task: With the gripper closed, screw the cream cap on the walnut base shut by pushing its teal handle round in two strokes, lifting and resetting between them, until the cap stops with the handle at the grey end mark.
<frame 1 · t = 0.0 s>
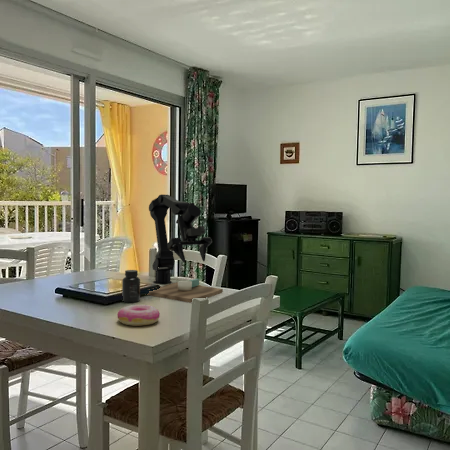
hand: (194, 261, 187), 15 cm above the table, tool tilted 35°, fingers open, 9 cm apart
walnut base: (184, 293, 194), on the table
cream cap: (189, 284, 197), point 3 cm above the table, hinge at 0.0°
supplement bottle: (130, 301, 178), on the table
donut: (138, 323, 150), on the table
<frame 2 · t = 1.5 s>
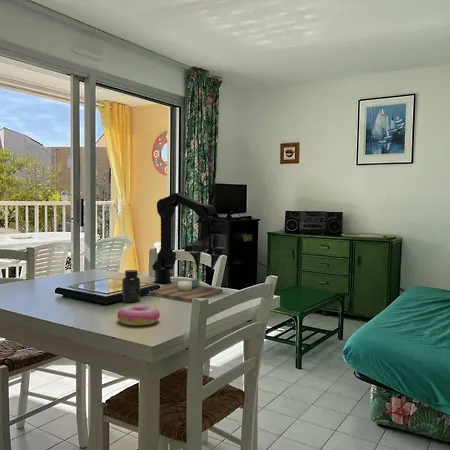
hand: (204, 269, 198), 10 cm above the table, tool pointing down, fingers open, 7 cm apart
nothing on the table moved.
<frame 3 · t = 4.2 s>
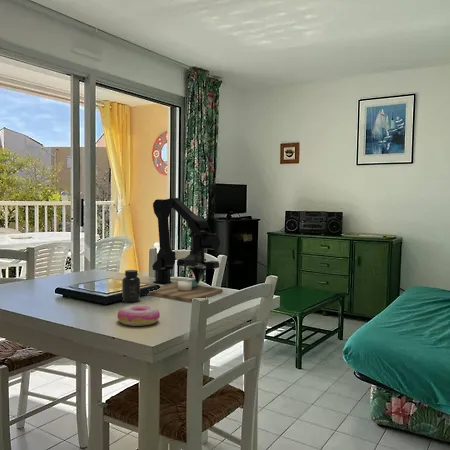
hand: (197, 282, 200), 4 cm above the table, tool pointing down, fingers closed
cream cap: (189, 284, 197), point 3 cm above the table, hinge at 2.2°, touching gripper
everything else where it was.
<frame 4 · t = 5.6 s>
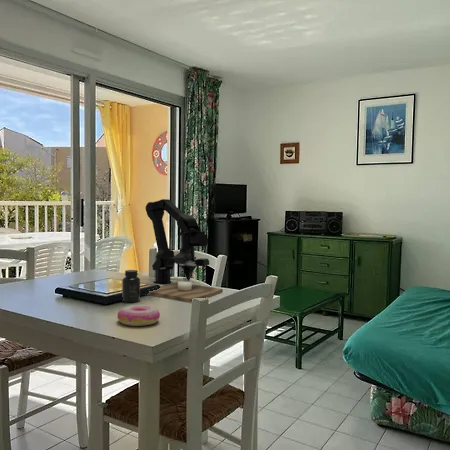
hand: (188, 280, 202), 4 cm above the table, tool pointing down, fingers closed
cream cap: (184, 283, 197), point 3 cm above the table, hinge at 35.2°, touching gripper
everything else where it was.
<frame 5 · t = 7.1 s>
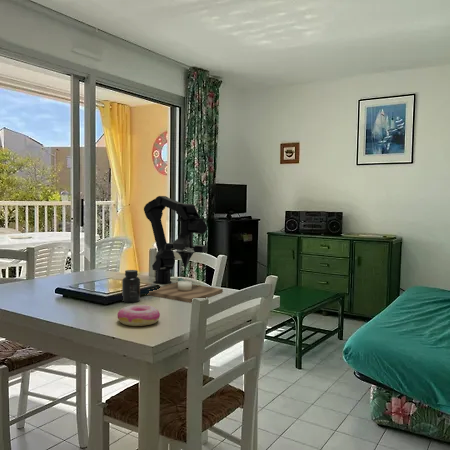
hand: (185, 266, 203), 10 cm above the table, tool pointing down, fingers closed
cream cap: (182, 283, 197), point 3 cm above the table, hinge at 47.9°
everything else where it was.
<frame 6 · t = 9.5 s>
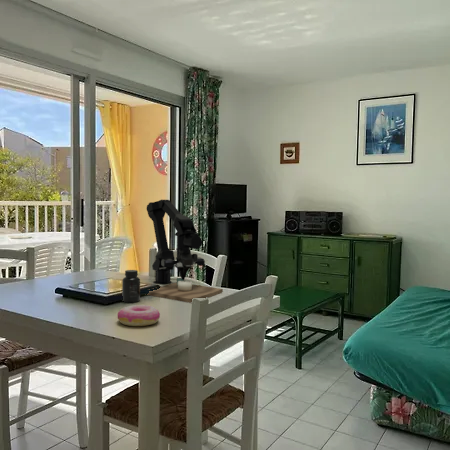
hand: (182, 281, 202), 4 cm above the table, tool pointing down, fingers closed
cream cap: (182, 283, 197), point 3 cm above the table, hinge at 51.0°, touching gripper
everything else where it was.
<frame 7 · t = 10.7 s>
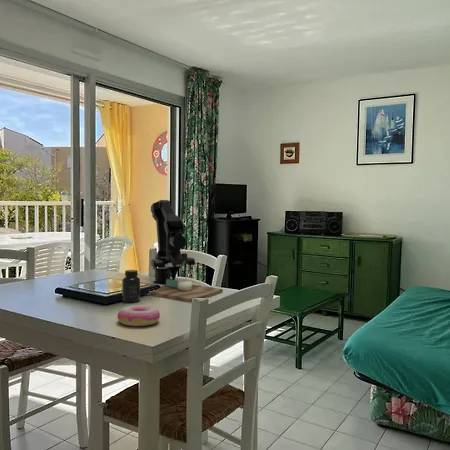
hand: (173, 281, 200), 4 cm above the table, tool pointing down, fingers closed
cream cap: (178, 284, 196), point 3 cm above the table, hinge at 84.6°, touching gripper
everything else where it was.
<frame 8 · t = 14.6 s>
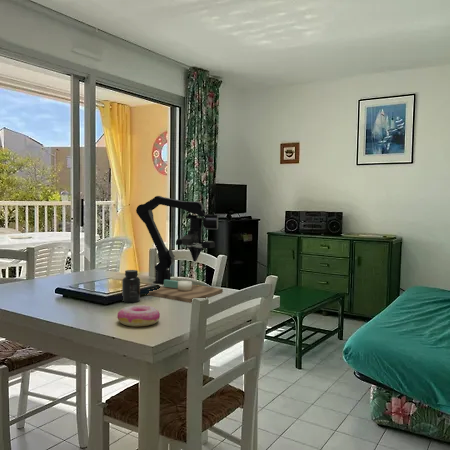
hand: (194, 261, 212), 11 cm above the table, tool pointing down, fingers closed
cream cap: (177, 284, 195), point 3 cm above the table, hinge at 96.2°
everything else where it was.
at the end: cream cap at +96° (first picture: +0°); supplement bottle moved 0.2 cm from its start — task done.
